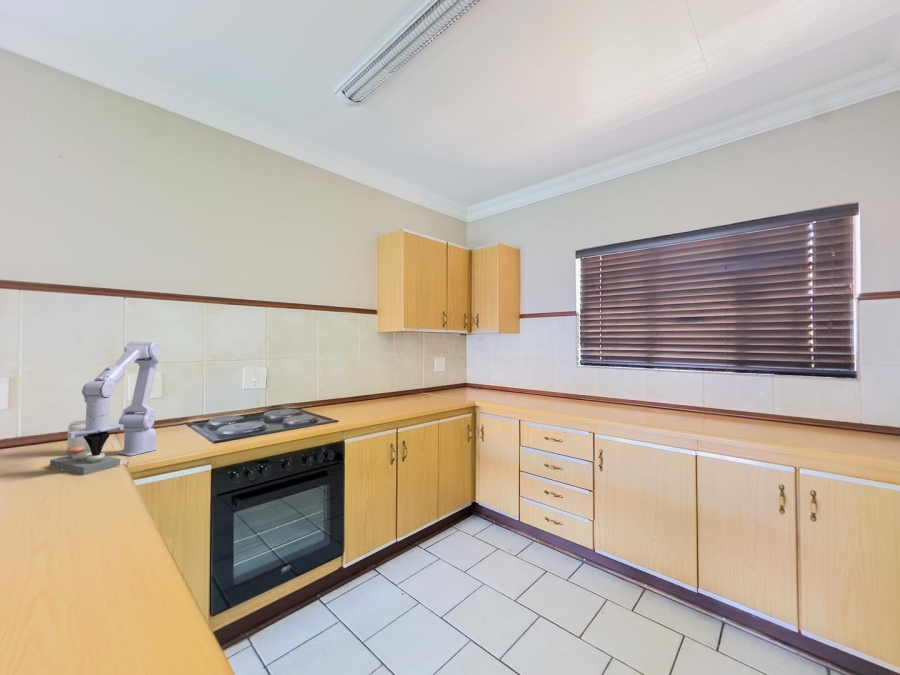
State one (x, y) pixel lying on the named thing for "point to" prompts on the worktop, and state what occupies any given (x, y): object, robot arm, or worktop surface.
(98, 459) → the sage button
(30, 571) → the worktop surface
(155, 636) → the worktop surface
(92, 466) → the button panel
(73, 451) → the terracotta button
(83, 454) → the cream button
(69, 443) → the translucent white cylinder
